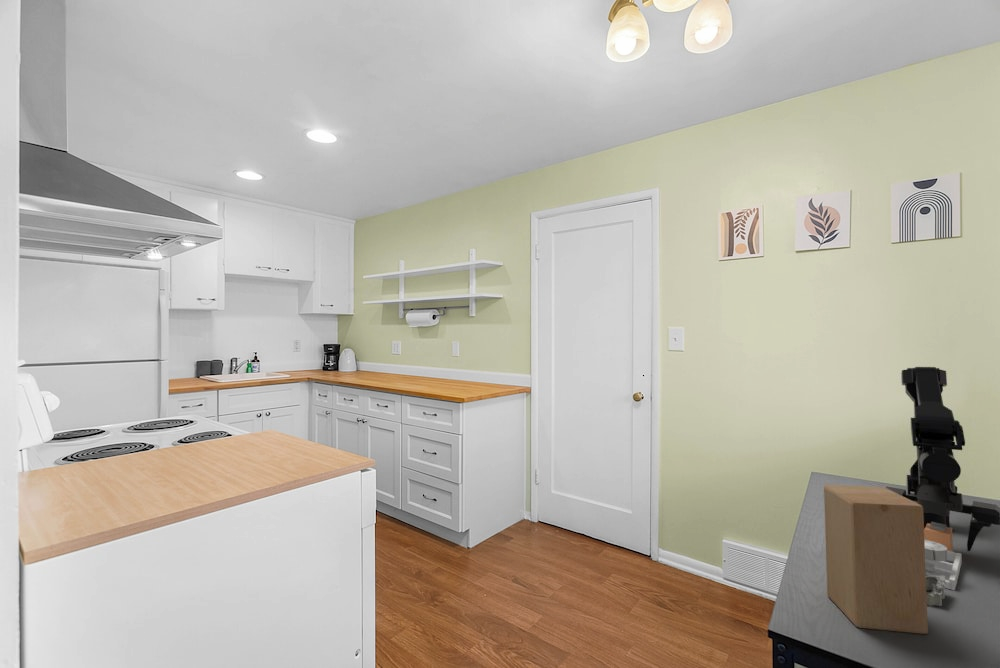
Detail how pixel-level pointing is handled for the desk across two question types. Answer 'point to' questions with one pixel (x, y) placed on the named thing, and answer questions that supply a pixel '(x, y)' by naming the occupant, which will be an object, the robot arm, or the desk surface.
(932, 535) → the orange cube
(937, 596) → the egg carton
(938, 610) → the desk surface
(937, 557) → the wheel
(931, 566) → the chassis
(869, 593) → the wooden block
